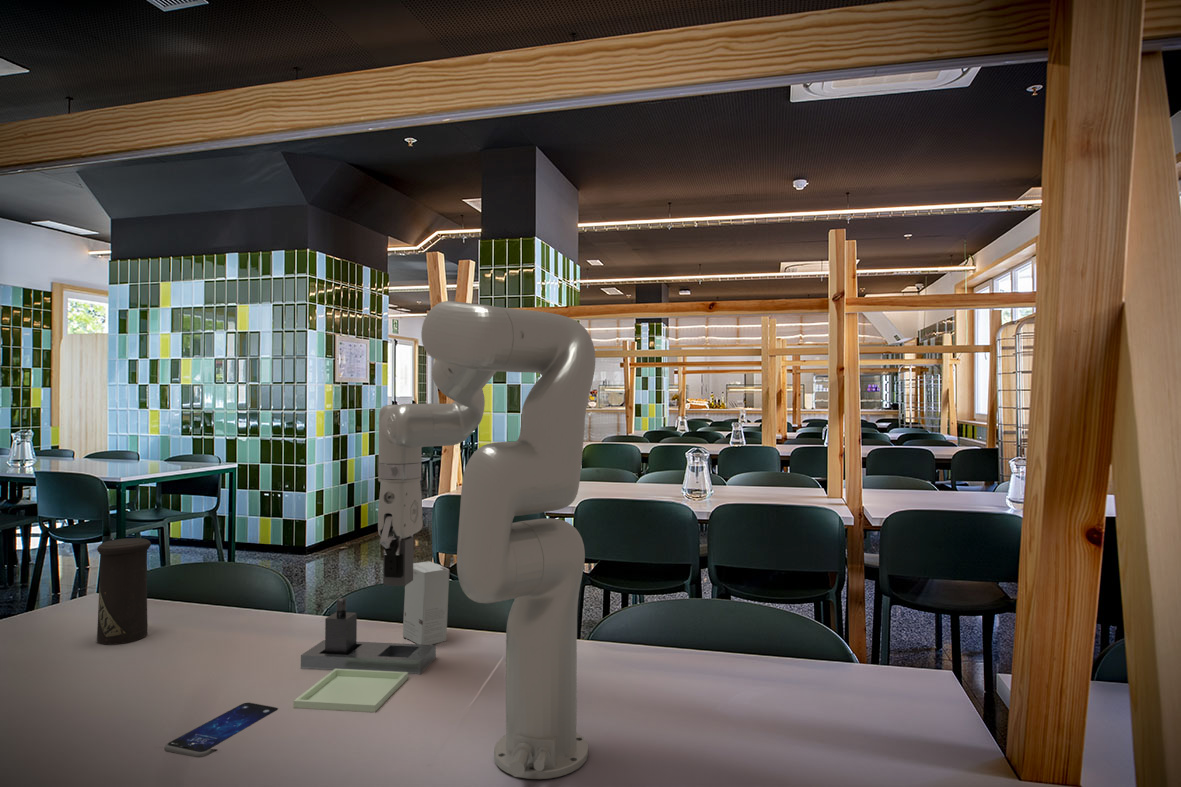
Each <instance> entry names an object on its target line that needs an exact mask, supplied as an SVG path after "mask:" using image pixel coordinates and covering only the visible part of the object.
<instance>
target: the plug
mask: <svg viewBox="0 0 1181 787" xmlns="http://www.w3.org/2000/svg"><path fill="white" fill-rule="evenodd" d="M391 537H398V536H397V535H396V534H393V535H391ZM414 538H415V536H414V537H410V536H409V537H407V538H402V546H401V555H403V576H402V577H401V578H393V577H385V576H384V565H385V555H384V554H383V562H382V563H383V564H382V565H383V568H382V571H383V573H382V574H383V575H382V578H383V581H382V585H383V586H395V587H396V586H398V587H405V586H406V585H407V584H408V583H410V582H411V581H413V563H414V546H415V544H414V543H415V542H414V541H415V540H414ZM392 542H394V543H395V545H396V543H397V541H394V540H392Z"/></svg>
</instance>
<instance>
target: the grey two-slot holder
mask: <svg viewBox="0 0 1181 787" xmlns="http://www.w3.org/2000/svg"><path fill="white" fill-rule="evenodd" d="M357 618H358V616H357V612H347V598H346V597H339V598H337V599H336V611H335V612H334V613H332V614H330V615H329V616H327V617H326V618H325V620H324V621H325V622H324V623H325V624H324V626H325V628H324V629H325V631H324V635H325V636H324V639H323V640H322V641H320V642H319V643H317V644H316V645H314V646H313V647H310V648H309V649H308V650H307V651H305V652H304V653H302V654H301V655H300V669H303V670H323V671H333V670H334V669H353V670H373V671H394V672H408V675H421V674H422V673H423V672H424V671H425V670H426V669H427V668H428V667H429V665H431V663H433V661H434V660H435V659H436V658H437V644H431V645H423V644H416V643H400V642H399V643H397V642H396V643H395V642H394V643H393V642H376V641H375V642H374V641H373V642H372V641H357V639H358V638H357V636H358V635H357V631H358V629H357V624H358V619H357Z"/></svg>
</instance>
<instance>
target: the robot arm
mask: <svg viewBox="0 0 1181 787" xmlns="http://www.w3.org/2000/svg"><path fill="white" fill-rule="evenodd" d="M421 343H422V346H423V349H424V350H425V353H427V354H428V356H430V357H431V358H433V359H435V361H434V363H433V366H432V370H431V376H432V380H433V382H434V384H435V386H436V387H437V389H438V390H439V391H440V392H441V393H442V394H443V395H445V396H446V397H447V398H448V399H450V400H452V401H453V402H452V403H403V404H386V405H384V406H381V408H380V410H379V413H378V415H379V416H378V468H377V469H378V475H377V476H378V478H377V479H378V480H377V481H378V482H379V483H380V487H379V488H380V489H379V495H378V496H379V497H378V507H377V508H378V509H377V510H378V511H377V531H378V536H379V537H380V539H379V543H380V545H381V546H382V548H383V556H384V555H385V565H384V576H385V577H393V578H401V577H402V576H403V555H401V546H402V538H407V537H409V536H410V537H414V538H415V534H417V533H419V532H420V531H421V530H422V529H423V524H424V522H423V521H424V520H423V497H422V495H423V494H422V487H421V486H422V485H421V481H422V448H424V447H425V448H427V447H450V446H456V445H459V444H460V443H462V442H464V441H465V440H467V438H468V437H469V436H470V435H472V433H473V432H475V430H476V429H477V428H478V427H479V425H480V424H481V422H482V420H483V416H484V412H485V406H486V405H485V402H486V400H485V399H486V398H485V395H484V388H485V386H486V385H487V384H488V382H490V380H492V378H493V377H494V375H495V374H496V373H497V372H503V373H505V372H506V373H533V374H534V373H536V374H539V375H540V376H541V377H539V378H538V380H537V381H536V382H535V383H534V385H533V386H532V387H531V389H530V390H529V393H528V394H527V396H526V397H525V400H524V402H523V405H522V408H521V409H522V410H521V419H520V420H521V422H520V423H521V424H520V430H519V431H520V432H519V436H518V438H517V440H516V441H497V442H491V443H486V444H484V445H482V446H480V447H478V449H476V450H475V451H474V452H473V453H472V454H471V456H470V457H469V459H468V461H467V464H466V465H465V468H464V472H463V476H462V482H461V490H460V491H461V492H460V494H461V495H460V507H459V518H458V532H457V546H456V547H457V549H456V550H457V551H456V571H457V572H456V573H457V577H458V578H457V579H458V581H459V586H460V588H461V589H462V592H463V593H464V594H465V596H466V597H467V598H468V599H470V600H471V601H472V602H475V603H478V604H492V603H497V602H498V603H499V602H503V601H508V600H512V599H514V600H513V603H512V605H511V608H510V611H509V614H508V617H507V621H506V632H505V633H506V634H505V635H506V639H505V643H506V644H505V667H506V668H505V735H503V736H502V737H500V739H499V740H498V741H496V744H495V746H494V749H493V759H494V762H495V765H496V766H497V767H498V768H499V769H500V770H502V771H503V772H505V773H507V774H509V775H511V776H512V777H515V778H521V779H527V780H528V779H529V780H547V779H553V778H554V779H555V778H559V777H563V776H566V775H568V774H571V773H573V772H574V771H576V770H578V769H580V768H581V767H582V766H583V765H584V764H585V762H586V761H587V760H588V756H589V745H588V742H587V740H586V739H585V737H583V736H582V735H581V734H580V733H578V732H577V730H578V729H577V726H578V725H577V721H578V720H577V710H578V707H577V702H578V701H577V699H578V698H577V694H578V693H577V692H578V691H577V684H578V683H577V680H578V679H577V678H578V677H577V676H578V675H577V673H578V672H577V668H578V667H577V659H578V657H577V656H578V652H577V650H578V648H577V646H578V645H577V644H578V643H577V642H578V607H579V597H580V590H581V589H580V588H581V582H582V578H583V574H584V573H583V572H584V568H585V560H586V559H585V558H586V554H585V553H586V552H585V551H586V550H585V545H584V541H583V538H582V536H581V534H580V532H579V531H578V529H577V528H576V527H574V526H573V525H572V524H571V523H569V522H568V521H566V520H562V519H559V518H552V517H551V518H550V517H548V518H536V519H528V520H520V521H516V522H513V520H514V518H515V517H518V516H525V515H526V516H527V515H533V514H539V513H540V514H541V513H547V512H555V511H558V510H562V509H565V508H567V507H569V506H570V505H571V504H573V503H574V501H575V499H576V498H577V495H578V492H579V487H580V482H581V481H580V480H581V472H582V471H581V470H582V461H583V449H584V448H583V447H584V439H585V429H586V428H585V426H586V412H587V406H588V403H589V397H590V393H591V390H592V385H593V382H594V376H595V372H596V370H595V369H596V350H595V346H594V342H593V339H592V338H591V335H590V333H589V332H588V330H587V328H585V327H584V326H583V325H582V324H581V323H580V322H578V321H577V320H575V319H573V318H571V317H569V316H565V315H562V314H558V313H552V312H545V311H538V310H529V309H520V308H509V307H502V306H494V305H487V304H479V303H471V302H470V303H469V302H462V301H453V300H445V301H442V302H441V301H440V302H439V303H437V304H435V305H434V306H433V307H431V309H430V310H429V311H428V312H427V314H426V315H425V318H424V320H423V322H422V326H421ZM394 534H396V535H397V536H398V537H392V535H394ZM392 540H394V541H397V543H396V545H395V543H394V542H392Z"/></svg>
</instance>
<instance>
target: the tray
mask: <svg viewBox="0 0 1181 787" xmlns="http://www.w3.org/2000/svg"><path fill="white" fill-rule="evenodd" d="M408 679H409V674H408V672H394V671H373V670H353V669H334V670H330V671H329V673H327V674H326V675H325V676H324V677H322V678H321V679H319V680H318V681H317V682H316V683H315V684H313V685H312V686H311V687H310V688H308V689H307V690H305V691H304V692H303V693H301V694H300V695H299V696H297V698H296V699H294V700H293V701H292V702H293V705H292V708H293V709H310V710H311V709H312V710H326V711H327V710H329V711H330V710H331V711H343V712H347V711H348V712H361V713H376V712H377V711H379V709H380V708H381V707H382V706H383V705H384V704H385V703H386V702H387V701H388V700H389V699H390V697H392V696H393V695H394V694H395V693H396V692H397V690H399V688H400V687H401V686H402V685H403V684H404V683H405V682H406V681H408Z"/></svg>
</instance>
